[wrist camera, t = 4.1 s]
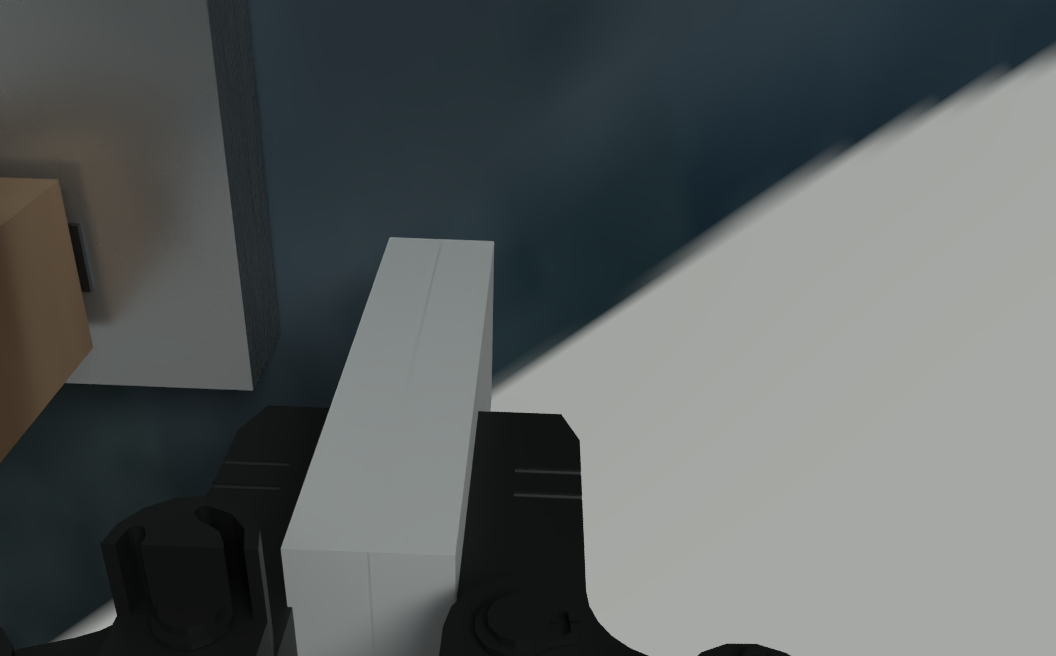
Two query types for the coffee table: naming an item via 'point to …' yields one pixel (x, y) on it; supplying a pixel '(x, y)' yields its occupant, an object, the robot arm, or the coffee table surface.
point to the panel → (149, 180)
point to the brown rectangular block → (36, 304)
